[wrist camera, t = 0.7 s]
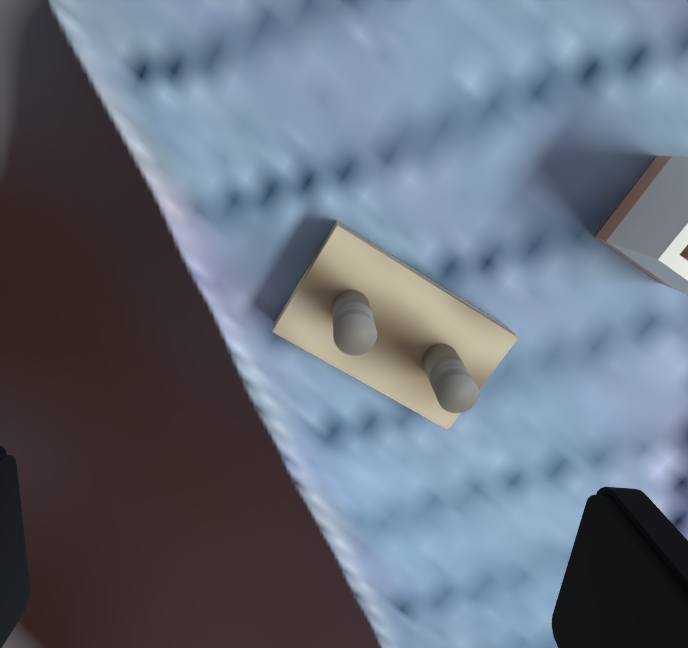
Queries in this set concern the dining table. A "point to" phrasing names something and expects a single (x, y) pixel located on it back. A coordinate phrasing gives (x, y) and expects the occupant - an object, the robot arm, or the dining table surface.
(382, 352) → the pin board
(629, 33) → the dining table surface
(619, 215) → the sleeve
